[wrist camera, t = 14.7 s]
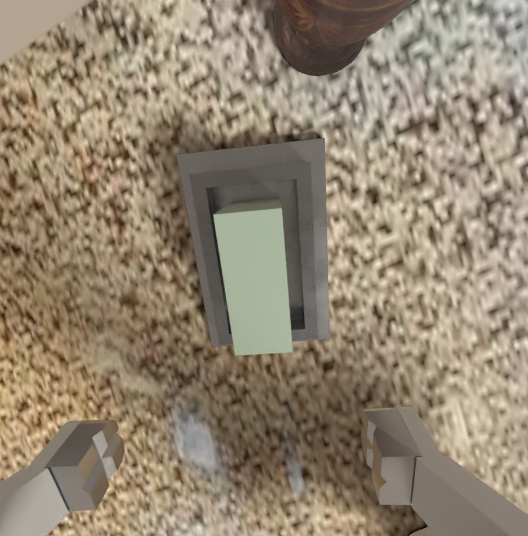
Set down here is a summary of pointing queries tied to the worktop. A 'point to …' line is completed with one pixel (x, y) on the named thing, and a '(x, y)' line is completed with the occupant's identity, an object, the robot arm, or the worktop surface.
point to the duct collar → (294, 224)
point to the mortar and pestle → (329, 30)
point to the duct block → (255, 275)
